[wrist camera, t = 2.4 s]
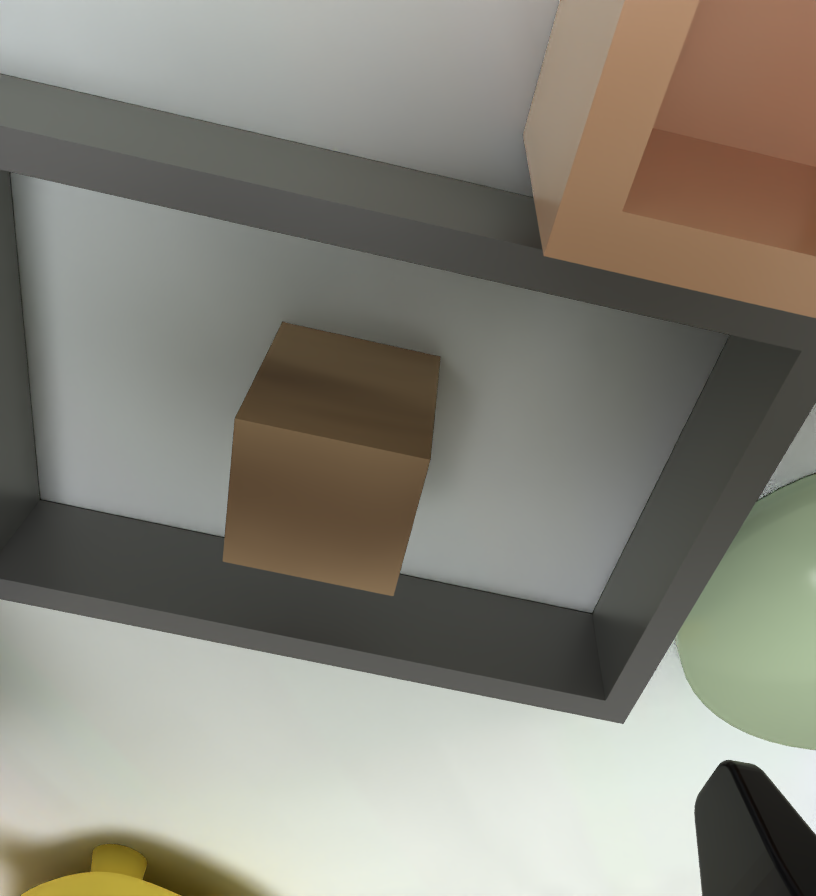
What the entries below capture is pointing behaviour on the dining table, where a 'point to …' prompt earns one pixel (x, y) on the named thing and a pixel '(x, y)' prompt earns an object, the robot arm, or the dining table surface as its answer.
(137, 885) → the teapot
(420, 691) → the dining table surface
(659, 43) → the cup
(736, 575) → the plate
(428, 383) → the walnut block
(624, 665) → the gray rectangular frame
